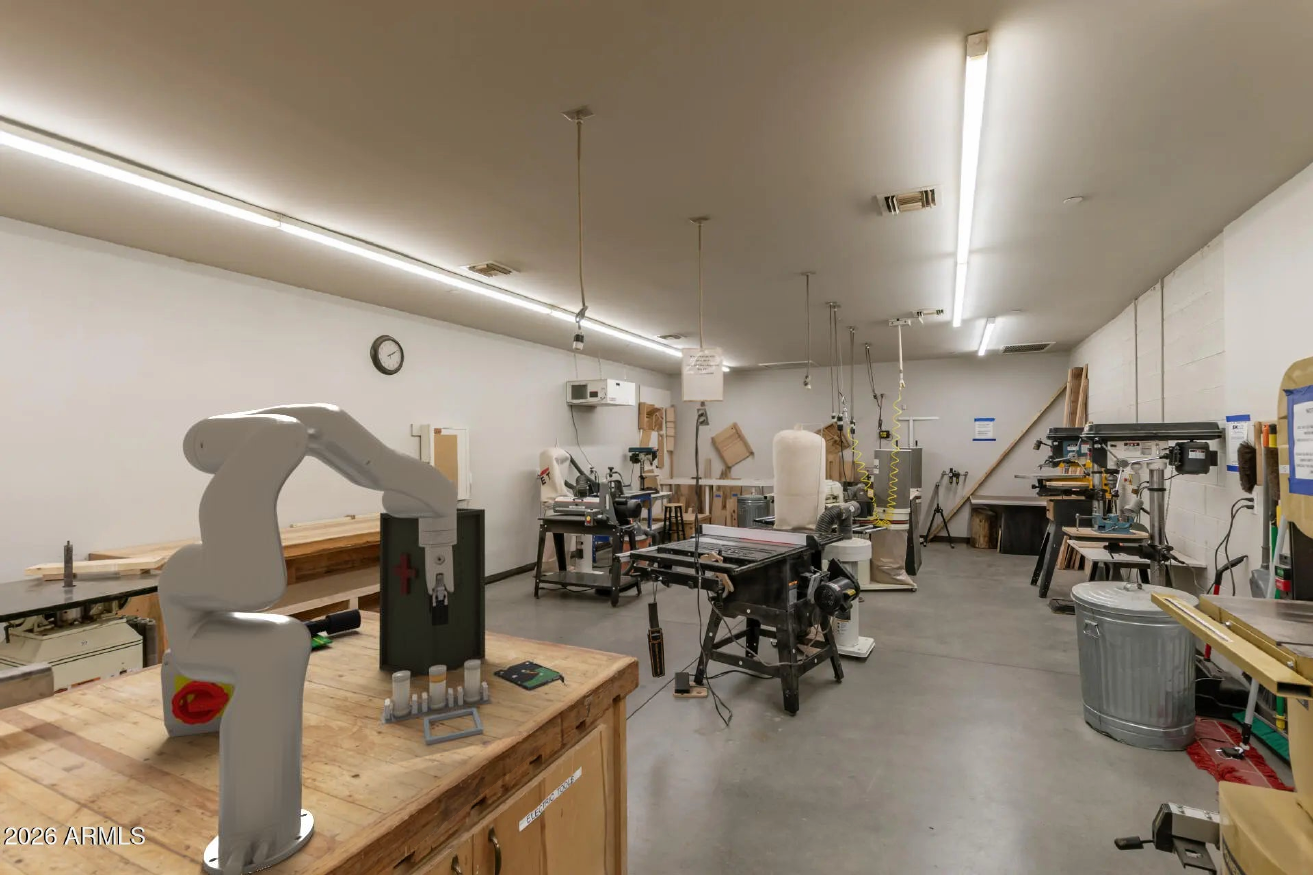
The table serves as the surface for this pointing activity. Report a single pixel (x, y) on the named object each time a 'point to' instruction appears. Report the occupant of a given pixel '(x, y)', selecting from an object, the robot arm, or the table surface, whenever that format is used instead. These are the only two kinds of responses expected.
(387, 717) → the fuse holder
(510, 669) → the disk drive
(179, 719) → the electrical switch box
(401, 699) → the domed white capsule
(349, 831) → the table surface
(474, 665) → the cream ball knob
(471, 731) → the tray
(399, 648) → the first aid box
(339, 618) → the electronic board model
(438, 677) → the cylinder
